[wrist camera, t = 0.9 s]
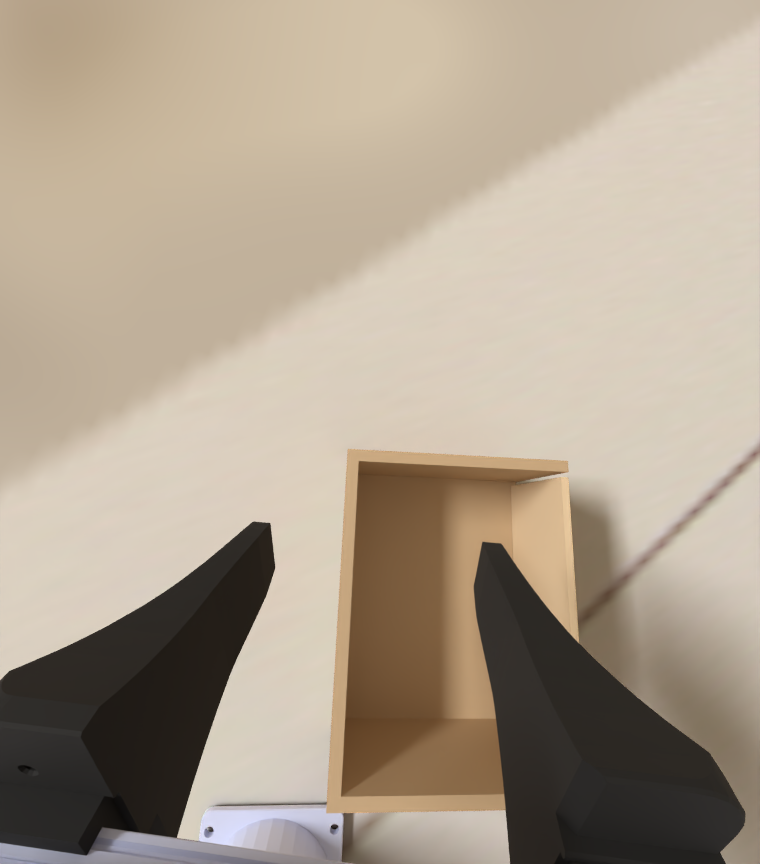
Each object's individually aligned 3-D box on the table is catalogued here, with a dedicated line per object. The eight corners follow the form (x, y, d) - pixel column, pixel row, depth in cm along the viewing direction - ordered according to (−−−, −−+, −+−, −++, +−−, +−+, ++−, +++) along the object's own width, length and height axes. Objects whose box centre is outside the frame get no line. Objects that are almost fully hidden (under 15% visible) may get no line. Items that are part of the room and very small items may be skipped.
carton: (520, 724, 24) (590, 808, 17) (331, 724, 24) (326, 813, 17) (512, 474, 28) (567, 460, 21) (347, 466, 27) (347, 449, 20)
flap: (524, 713, 24) (588, 784, 18) (518, 713, 24) (580, 784, 18) (516, 486, 27) (568, 477, 21) (510, 486, 27) (561, 477, 21)
